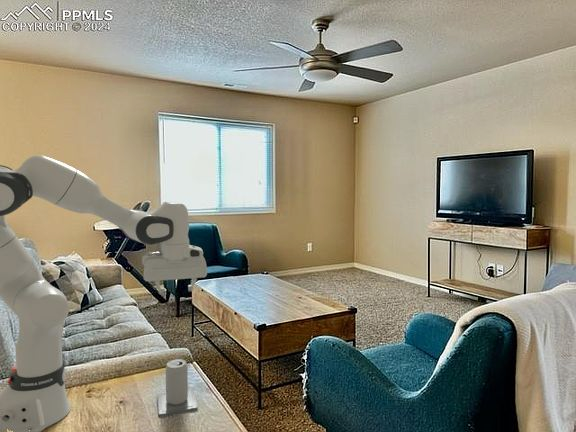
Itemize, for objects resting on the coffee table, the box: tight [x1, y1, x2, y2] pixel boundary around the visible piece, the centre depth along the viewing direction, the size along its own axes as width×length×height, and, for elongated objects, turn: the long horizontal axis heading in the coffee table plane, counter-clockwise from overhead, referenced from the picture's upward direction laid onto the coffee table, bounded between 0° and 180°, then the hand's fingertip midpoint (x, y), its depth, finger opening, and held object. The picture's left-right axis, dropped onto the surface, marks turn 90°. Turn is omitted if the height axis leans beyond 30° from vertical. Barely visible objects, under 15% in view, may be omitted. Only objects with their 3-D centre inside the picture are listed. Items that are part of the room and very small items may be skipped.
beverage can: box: [165, 358, 189, 405], centre depth 120 cm, size 6×6×12 cm
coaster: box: [157, 387, 198, 418], centre depth 120 cm, size 11×11×1 cm
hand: (176, 291), depth 131 cm, fingers open, 8 cm apart
